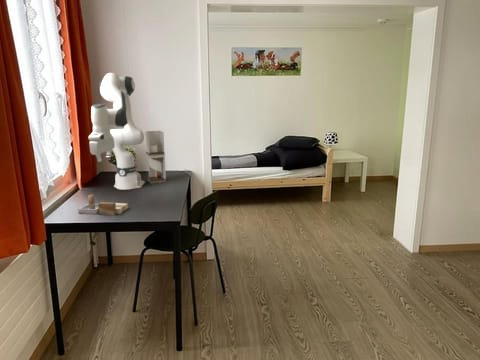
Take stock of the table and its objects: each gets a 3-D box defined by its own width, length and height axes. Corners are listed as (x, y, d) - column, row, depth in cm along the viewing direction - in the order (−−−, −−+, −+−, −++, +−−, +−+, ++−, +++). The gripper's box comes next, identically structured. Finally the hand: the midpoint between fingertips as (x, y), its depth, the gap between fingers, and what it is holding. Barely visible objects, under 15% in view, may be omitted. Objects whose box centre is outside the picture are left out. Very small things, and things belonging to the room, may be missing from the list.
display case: (147, 179, 271) (144, 131, 262) (162, 178, 275) (159, 130, 267) (151, 183, 261) (147, 133, 252) (166, 181, 265) (163, 132, 257)
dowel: (91, 208, 204) (89, 194, 202) (96, 208, 203) (94, 194, 201) (88, 210, 201) (86, 196, 199) (93, 210, 200) (92, 196, 198)
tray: (88, 207, 208) (88, 203, 207) (105, 208, 206) (105, 204, 206) (78, 213, 198) (78, 209, 197) (96, 214, 196) (95, 209, 196)
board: (107, 207, 209) (107, 202, 208) (128, 208, 207) (127, 203, 206) (98, 213, 199) (98, 208, 198) (120, 214, 197) (119, 209, 197)
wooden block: (102, 212, 199) (101, 202, 197) (116, 213, 197) (115, 202, 196) (99, 214, 196) (98, 203, 194) (113, 215, 195) (112, 204, 193)
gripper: (105, 131, 213) (108, 155, 217) (86, 137, 193) (89, 163, 197) (116, 131, 212) (118, 155, 216) (97, 137, 192) (100, 164, 196)
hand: (104, 159), depth 206 cm, fingers open, 8 cm apart
